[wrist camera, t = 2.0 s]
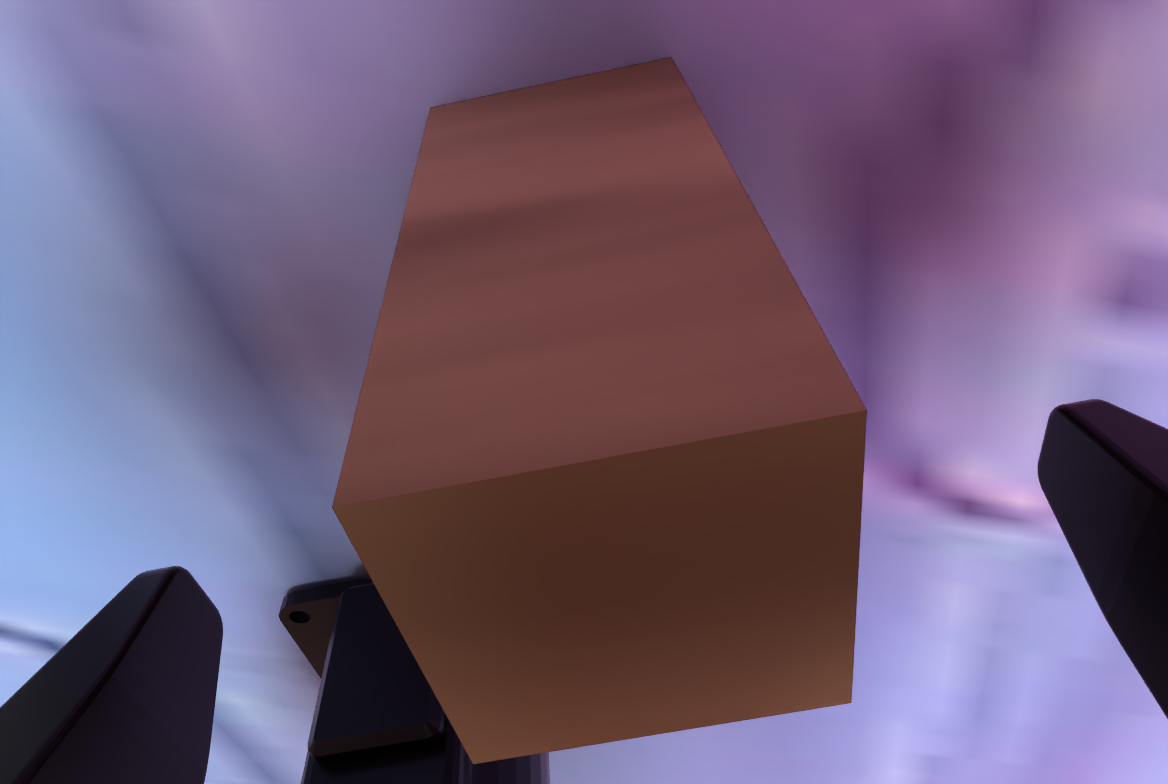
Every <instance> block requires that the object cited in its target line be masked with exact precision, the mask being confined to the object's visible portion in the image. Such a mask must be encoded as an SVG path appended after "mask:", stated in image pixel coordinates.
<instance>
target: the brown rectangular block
mask: <svg viewBox="0 0 1168 784" xmlns="http://www.w3.org/2000/svg"><path fill="white" fill-rule="evenodd" d="M866 415H867V410H866V408H865V406H864V404H863V402H862V400H861V399H860V397H859V395H858V393H857V391H856V390H855V388H854V386H853V384H852V382H851V381H850V379H849V377H848V375H847V373H846V372H845V370H844V368H843V366H842V364H841V363H840V361H839V359H838V357H837V355H836V354H835V352H834V350H833V348H832V346H831V345H830V343H829V341H828V339H827V337H826V335H825V334H824V332H823V330H822V328H821V326H820V325H819V323H818V321H817V319H816V317H815V316H814V314H813V312H812V310H811V308H810V307H809V305H808V303H807V301H806V299H805V298H804V296H803V294H802V292H801V290H800V289H799V287H798V285H797V283H796V281H795V280H794V278H793V276H792V274H791V272H790V270H789V269H788V267H787V265H786V263H785V261H784V260H783V258H782V256H781V254H780V252H779V251H778V249H777V247H776V245H775V243H774V242H773V240H772V238H771V236H770V234H769V233H768V231H767V229H766V227H765V225H764V224H763V222H762V220H761V218H760V216H759V214H758V213H757V211H756V209H755V207H754V205H753V204H752V202H751V200H750V198H749V196H748V195H747V193H746V191H745V189H744V187H743V186H742V184H741V182H740V180H739V178H738V177H737V175H736V173H735V171H734V169H733V168H732V166H731V164H730V162H729V160H728V159H727V157H726V155H725V153H724V151H723V149H722V148H721V146H720V144H719V142H718V140H717V139H716V137H715V135H714V133H713V131H712V130H711V128H710V126H709V124H708V122H707V121H706V119H705V117H704V115H703V113H702V112H701V110H700V108H699V106H698V104H697V103H696V101H695V99H694V97H693V95H692V94H691V92H690V90H689V88H688V86H687V84H686V83H685V81H684V79H683V77H682V75H681V74H680V72H679V70H678V68H677V66H676V65H675V63H674V61H673V59H672V57H669V58H665V59H660V60H655V61H650V62H646V63H641V64H636V65H631V66H627V67H622V68H617V69H612V70H608V71H603V72H598V73H593V74H588V75H584V76H579V77H574V78H569V79H565V80H560V81H555V82H550V83H546V84H541V85H536V86H531V87H527V88H522V89H517V90H512V91H508V92H503V93H498V94H493V95H488V96H484V97H479V98H474V99H469V100H465V101H460V102H455V103H450V104H446V105H441V106H436V107H431V108H430V111H429V115H428V119H427V123H426V127H425V131H424V135H423V139H422V143H421V147H420V151H419V155H418V159H417V164H416V168H415V172H414V176H413V180H412V184H411V188H410V192H409V196H408V200H407V204H406V208H405V212H404V217H403V221H402V225H401V229H400V233H399V237H398V241H397V245H396V249H395V253H394V257H393V261H392V265H391V269H390V274H389V278H388V282H387V286H386V290H385V294H384V298H383V302H382V306H381V310H380V314H379V318H378V322H377V327H376V331H375V335H374V339H373V343H372V347H371V351H370V355H369V359H368V363H367V367H366V371H365V375H364V379H363V384H362V388H361V392H360V396H359V400H358V404H357V408H356V412H355V416H354V420H353V424H352V428H351V432H350V436H349V441H348V445H347V449H346V453H345V457H344V461H343V465H342V469H341V473H340V477H339V481H338V485H337V489H336V494H335V498H334V502H333V506H332V508H333V510H334V512H335V514H336V516H337V517H338V519H339V521H340V523H341V525H342V527H343V528H344V530H345V532H346V534H347V536H348V537H349V539H350V541H351V543H352V545H353V547H354V548H355V550H356V552H357V554H358V556H359V557H360V559H361V561H362V563H363V565H364V567H365V568H366V570H367V572H368V574H369V576H370V577H371V579H372V581H373V583H374V585H375V586H376V588H377V590H378V592H379V594H380V596H381V597H382V599H383V601H384V603H385V605H386V606H387V608H388V610H389V612H390V614H391V616H392V617H393V619H394V621H395V623H396V625H397V626H398V628H399V630H400V632H401V634H402V636H403V637H404V639H405V641H406V643H407V645H408V646H409V648H410V650H411V652H412V654H413V656H414V657H415V659H416V661H417V663H418V665H419V666H420V668H421V670H422V672H423V674H424V676H425V677H426V679H427V681H428V683H429V685H430V686H431V688H432V690H433V692H434V694H435V696H436V697H437V699H438V701H439V703H440V705H441V706H442V708H443V710H444V712H445V714H446V716H447V717H448V719H449V721H450V723H451V725H452V726H453V728H454V730H455V732H456V734H457V736H458V737H459V739H460V741H461V743H462V745H463V746H464V748H465V750H466V752H467V754H468V755H469V757H470V759H471V761H472V763H473V764H477V763H483V762H490V761H496V760H502V759H508V758H514V757H520V756H527V755H533V754H539V753H545V752H551V751H557V750H564V749H570V748H576V747H582V746H588V745H594V744H601V743H607V742H613V741H619V740H625V739H631V738H638V737H644V736H650V735H656V734H662V733H668V732H675V731H681V730H687V729H693V728H699V727H705V726H712V725H718V724H724V723H730V722H736V721H742V720H749V719H755V718H761V717H767V716H773V715H780V714H786V713H792V712H798V711H804V710H810V709H817V708H823V707H829V706H835V705H841V704H847V703H851V700H852V681H853V662H854V643H855V624H856V605H857V586H858V567H859V548H860V529H861V510H862V491H863V472H864V453H865V434H866Z"/></svg>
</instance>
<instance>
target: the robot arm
mask: <svg viewBox="0 0 1168 784" xmlns="http://www.w3.org/2000/svg"><path fill="white" fill-rule="evenodd" d="M1038 477H1039V482H1040V485H1041V488H1042V490H1043V492H1044V494H1045V496H1046V498H1047V500H1048V502H1049V504H1050V507H1051V509H1052V511H1053V513H1054V515H1055V517H1056V519H1057V521H1058V523H1059V525H1060V527H1061V529H1062V531H1063V533H1064V535H1065V538H1066V540H1067V542H1068V544H1069V546H1070V548H1071V550H1072V552H1073V554H1074V556H1075V558H1076V560H1077V562H1078V564H1079V566H1080V569H1081V571H1082V573H1083V575H1084V577H1085V579H1086V581H1087V583H1088V585H1089V587H1090V589H1091V591H1092V593H1093V595H1094V597H1095V599H1096V601H1097V603H1098V605H1099V607H1100V609H1101V611H1102V613H1103V615H1104V617H1105V619H1106V621H1107V622H1108V624H1109V626H1110V627H1111V629H1112V631H1113V632H1114V634H1115V636H1116V637H1117V639H1118V641H1119V642H1120V644H1121V646H1122V647H1123V649H1124V650H1125V652H1126V654H1127V655H1128V657H1129V658H1130V660H1131V661H1132V663H1133V665H1134V666H1135V668H1136V669H1137V671H1138V673H1139V674H1140V676H1141V677H1142V679H1143V680H1144V682H1145V684H1146V685H1147V687H1148V688H1149V690H1150V692H1151V693H1152V695H1153V696H1154V698H1155V700H1156V701H1157V703H1158V704H1159V706H1160V707H1161V709H1162V711H1163V712H1164V714H1165V715H1166V717H1167V719H1168V429H1166V428H1164V427H1162V426H1160V425H1157V424H1155V423H1153V422H1151V421H1149V420H1146V419H1144V418H1142V417H1140V416H1138V415H1135V414H1133V413H1131V412H1129V411H1126V410H1124V409H1122V408H1120V407H1118V406H1115V405H1113V404H1111V403H1109V402H1106V401H1103V400H1099V399H1091V400H1085V401H1080V402H1074V403H1069V404H1063V405H1060V406H1057V407H1055V408H1054V409H1053V411H1052V412H1051V413H1050V416H1049V419H1048V423H1047V427H1046V431H1045V435H1044V440H1043V444H1042V448H1041V452H1040V457H1039V461H1038ZM279 618H280V621H281V622H282V623H283V625H284V626H285V628H286V629H287V631H288V632H289V633H290V635H291V636H292V638H293V639H294V641H295V642H296V643H297V645H298V646H299V648H300V649H301V651H302V652H303V653H304V655H305V656H306V658H307V659H308V661H309V662H310V663H311V665H312V666H313V668H314V669H315V671H316V672H317V673H318V675H319V676H320V678H321V684H320V688H319V693H318V698H317V703H316V707H315V712H314V717H313V722H312V726H311V731H310V736H309V740H308V752H307V757H306V762H305V767H304V772H303V776H302V781H301V784H550V778H549V752H545V753H539V754H533V755H527V756H520V757H514V758H508V759H502V760H496V761H490V762H483V763H477V764H473V763H472V761H471V759H470V757H469V755H468V754H467V752H466V750H465V748H464V746H463V745H462V743H461V741H460V739H459V737H458V736H457V734H456V732H455V730H454V728H453V726H452V725H451V723H450V721H449V719H448V717H447V716H446V714H445V712H444V710H443V708H442V706H441V705H440V703H439V701H438V699H437V697H436V696H435V694H434V692H433V690H432V688H431V686H430V685H429V683H428V681H427V679H426V677H425V676H424V674H423V672H422V670H421V668H420V666H419V665H418V663H417V661H416V659H415V657H414V656H413V654H412V652H411V650H410V648H409V646H408V645H407V643H406V641H405V639H404V637H403V636H402V634H401V632H400V630H399V628H398V626H397V625H396V623H395V621H394V619H393V617H392V616H391V614H390V612H389V610H388V608H387V606H386V605H385V603H384V601H383V599H382V597H381V596H380V594H379V592H378V590H377V588H376V586H375V585H374V583H373V581H372V579H371V578H370V579H365V580H359V581H353V582H348V583H342V584H336V585H331V586H325V587H319V588H314V589H308V590H302V591H297V592H293V593H290V594H288V595H287V596H285V597H284V599H283V602H282V606H281V609H280V613H279ZM222 638H223V624H222V619H221V616H220V614H219V611H218V610H217V608H216V607H215V605H214V604H213V603H212V601H211V600H210V599H209V597H208V596H207V595H206V593H205V592H204V591H203V589H202V588H201V587H200V586H199V584H198V583H197V582H196V580H195V579H194V578H193V576H192V575H191V574H190V573H189V572H188V571H187V570H186V569H184V568H182V567H180V566H172V567H167V568H161V569H156V570H150V571H146V572H143V573H141V574H139V575H137V576H136V577H135V578H134V579H133V580H132V581H131V582H130V583H129V584H128V585H127V586H125V587H124V588H123V589H122V590H121V591H120V592H119V593H118V594H117V595H116V596H115V597H114V598H113V599H112V600H111V601H110V602H109V603H108V604H107V605H106V606H105V607H104V608H103V609H102V610H101V611H100V612H99V613H98V614H97V615H96V616H94V617H93V618H92V619H91V620H90V621H89V622H88V623H87V624H86V625H85V626H84V627H83V628H82V629H81V630H80V631H79V632H78V633H77V634H76V635H75V636H74V637H73V638H72V639H71V640H70V641H69V642H68V643H67V644H66V645H64V646H63V647H62V648H61V649H60V650H59V651H58V652H57V653H56V654H55V655H54V656H53V657H52V658H51V659H50V660H49V661H48V662H47V663H46V664H45V665H44V666H43V667H42V668H41V669H40V670H39V671H38V672H37V673H36V674H34V675H33V676H32V677H31V678H30V679H29V680H28V681H27V682H26V683H25V684H24V685H23V686H22V687H21V688H20V689H19V690H18V691H17V692H16V693H15V694H14V695H13V696H12V697H11V698H10V699H9V700H8V701H7V702H6V703H4V704H3V705H2V706H1V707H0V784H204V781H205V776H206V771H207V764H208V758H209V751H210V743H211V734H212V725H213V716H214V708H215V699H216V690H217V681H218V673H219V664H220V655H221V646H222Z"/></svg>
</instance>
